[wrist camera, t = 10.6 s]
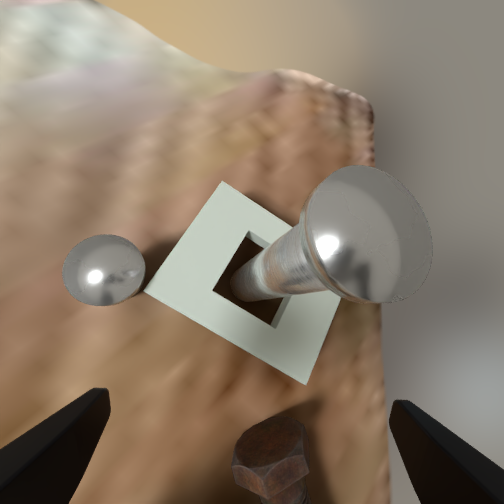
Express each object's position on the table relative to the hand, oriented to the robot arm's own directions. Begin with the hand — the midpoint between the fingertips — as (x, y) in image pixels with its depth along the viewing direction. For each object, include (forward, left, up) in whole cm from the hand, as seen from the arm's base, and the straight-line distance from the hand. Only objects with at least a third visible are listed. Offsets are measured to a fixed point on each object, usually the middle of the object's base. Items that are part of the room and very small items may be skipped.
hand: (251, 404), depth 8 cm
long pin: (+6, 0, -13) cm, 14 cm away
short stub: (+1, +9, -13) cm, 16 cm away
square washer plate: (+6, 0, -13) cm, 15 cm away
